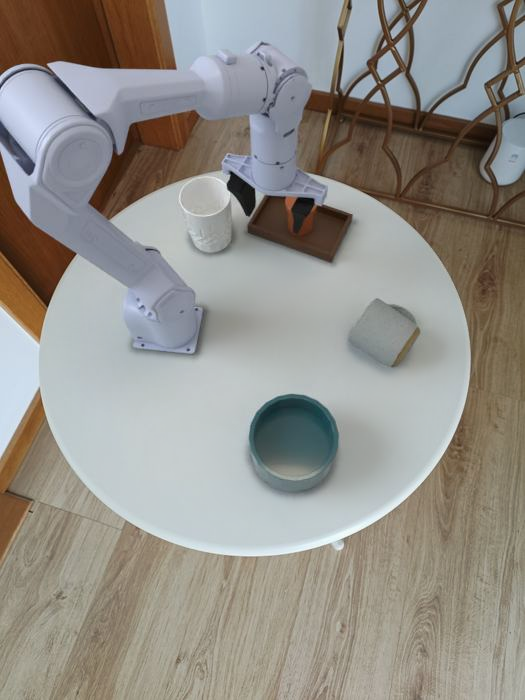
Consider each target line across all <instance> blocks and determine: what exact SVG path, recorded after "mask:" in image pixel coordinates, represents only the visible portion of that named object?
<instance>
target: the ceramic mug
mask: <svg viewBox="0 0 525 700" xmlns="http://www.w3.org/2000/svg"><path fill="white" fill-rule="evenodd" d="M417 324H418V321H417V320H416V317H415V316H414V315H413V314H412V313H411V311H409V310H408V309H407V308H405V307H403V306H401V305H399V304H395V303H389V304H388V303H386V302H385V301H383V300H382V299H380V298H378V297H376V298H374V299H373V300H372V301H371V302H370V303H369V304H368V305H367V306H366V308H365V310H363V312H362V314H361V315H360V316H359V318H358V319H357V321H356V322H355V324H354V326H353V327H352V329H351V331H350V334H349V335H348V338H347V341H348V342H349V344H351V345H353V346H354V347H356V348H357V349H359V350H361V351H363V353H366V354H368V355H369V356H371V357H372V358H374V359H376V360H377V361H378V362H380V363H382V364H383V365H385V366H388V367H390V368H397V367H398V366H399V365H400V363H401V362H402V361H403V359H404V358H405V357H406V355H407V354H408V353H409V351H410V350H411V348H412V347H413V345H414V344H415V342H416V341H417V339H418V338H419V336H420V335H421V329H420V327H419V326H418V325H417Z"/></svg>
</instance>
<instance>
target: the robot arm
mask: <svg viewBox="0 0 525 700" xmlns="http://www.w3.org/2000/svg"><path fill="white" fill-rule="evenodd" d="M46 65H47V67H48V68H49V69H48V68H46V67H45V66H42V65H39V64H34V63H21V64H18V65H14V66H12V67H10V68H9V69H6V70H5V71H4V72H3V73H2V74H1V75H0V155H1V158H2V162H3V165H4V168H5V172H6V176H7V178H8V181H9V185H10V188H11V192H12V196H13V198H14V201H15V203H16V204H17V205H18V206H19V208H20V210H21V211H22V212H23V213H24V214H25V216H26V217H27V218H28V220H29V222H31V223H32V224H33V226H35V227H36V228H38V229H39V230H41V231H43V232H44V233H45V234H47V235H48V236H50V237H51V238H53V239H54V240H56V241H57V242H58V243H60V244H62V245H64V247H66V248H68V249H69V250H71V251H72V252H74V253H75V254H77V255H78V256H80V257H81V258H83V259H84V260H85V261H87V262H89V263H91V264H92V265H93V266H95V267H96V268H97V269H99V270H101V271H102V272H103V273H105V274H107V275H108V276H110V277H111V278H113V279H114V280H116V281H117V282H119V283H120V284H122V285H123V286H124V287H126V288H128V289H127V290H126V292H125V295H124V298H123V299H124V300H123V305H122V316H123V321H124V324H125V327H126V328H127V330H128V332H129V333H130V336H131V337H132V339H133V345H132V346H133V348H134V349H136V350H137V349H138V350H147V351H158V352H167V353H176V354H188V355H193V354H195V353H196V350H197V345H198V339H199V335H200V329H201V324H202V319H203V314H204V309H203V307H201V306H195V303H196V300H197V294H196V292H195V290H194V289H193V288H191V287H190V286H189V285H188V284H187V283H186V281H184V279H182V277H181V276H180V275H179V274H178V273H177V272H176V270H175V269H174V268H173V267H172V266H171V265H170V263H169V262H168V261H167V260H166V259H165V258H164V257H163V256H162V253H161V252H160V250H159V248H157V247H155V246H152V245H143V244H141V243H140V242H139V241H137V240H133V239H131V238H130V237H129V236H128V235H127V234H126V233H124V231H122V230H121V229H120V228H119V227H117V226H116V225H115V224H114V223H113V222H112V221H111V220H109V219H108V218H107V217H105V215H103V214H102V213H101V212H100V211H98V210H97V209H96V208H95V207H93V206H92V205H91V204H90V203H89V201H90V200H91V199H92V197H93V195H94V193H95V191H96V190H97V188H98V186H99V185H100V183H101V181H102V179H103V177H104V175H105V174H106V172H107V170H108V168H109V166H110V164H111V162H112V157H113V154H114V153H113V152H115V154H116V155H117V156H120V155H122V154H123V152H124V149H125V145H126V142H127V138H128V135H129V134H128V133H129V131H130V127H131V125H132V124H134V123H139V122H144V121H148V120H153V119H158V118H162V117H167V116H171V115H177V114H181V113H186V112H190V111H195V112H196V113H197V114H198V115H199V117H200V118H202V119H204V120H207V121H215V120H223V119H229V118H230V119H231V118H237V117H238V118H239V117H245V116H248V117H249V118H248V119H249V134H250V135H249V136H250V137H249V139H250V155H243V154H242V155H241V154H234V153H230V152H228V153H226V155H225V156H224V158H223V159H222V161H221V167H222V168H221V171H222V174H225V175H227V176H229V179H228V181H227V182H226V184H227V190H228V191H230V192H231V195H233V197H234V198H235V199H236V200H237V202H238V203H239V205H240V206H241V209H242V210H243V213H244V215H245V216H246V217H248V218H251V217H252V214H253V212H255V211H254V210H256V205H257V197H256V195H257V194H256V191H257V192H259V193H261V194H263V195H264V196H265V195H270V196H287V197H298V198H297V199H296V201H295V203H294V204H293V206H292V208H291V212H292V215H293V221H294V222H293V233H296V234H298V233H299V231H300V229H301V227H302V225H303V222H304V219H305V218H306V217H307V216H308V215H309V214H310V212H311V210H312V208H313V207H314V205H315V204H316V205H318V206H322V204H324V203H325V201H326V199H327V197H328V189H329V186H328V185H326V184H324V183H322V182H320V181H318V180H316V179H315V178H314V177H312V176H311V175H309V174H308V173H306V172H305V171H304V170H303V169H301V168H299V167H298V166H297V159H298V158H297V157H298V156H297V155H298V139H299V136H298V135H299V126H300V124H301V121H302V120H303V112H304V109H305V106H306V105H307V104H308V101H309V100H310V97H311V94H312V91H313V84H312V83H310V82H309V79H308V77H309V76H308V74H307V71H306V70H305V69H304V68H303V67H301V66H300V65H299V64H298V63H296V62H295V61H294V60H292V59H291V58H290V57H289V56H287V55H286V54H285V53H284V52H282V51H281V50H280V49H278V47H276V46H274V45H273V44H271V43H269V42H264V41H263V40H260V41H257V42H255V43H253V44H252V45H251V46H250V47H248V49H246V50H245V51H243V52H239V53H236V54H234V52H232V51H231V50H230V49H228V48H219V49H218V50H217V54H215V55H214V54H213V55H212V54H211V55H202V56H199V57H197V58H196V59H195V61H194V62H193V63H192V64H191V65H190V68H189V69H150V68H149V69H147V68H142V69H141V68H102V67H93V66H88V65H83V64H78V63H73V62H68V61H63V60H62V61H61V60H58V61H53V62H49V63H46Z"/></svg>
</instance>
